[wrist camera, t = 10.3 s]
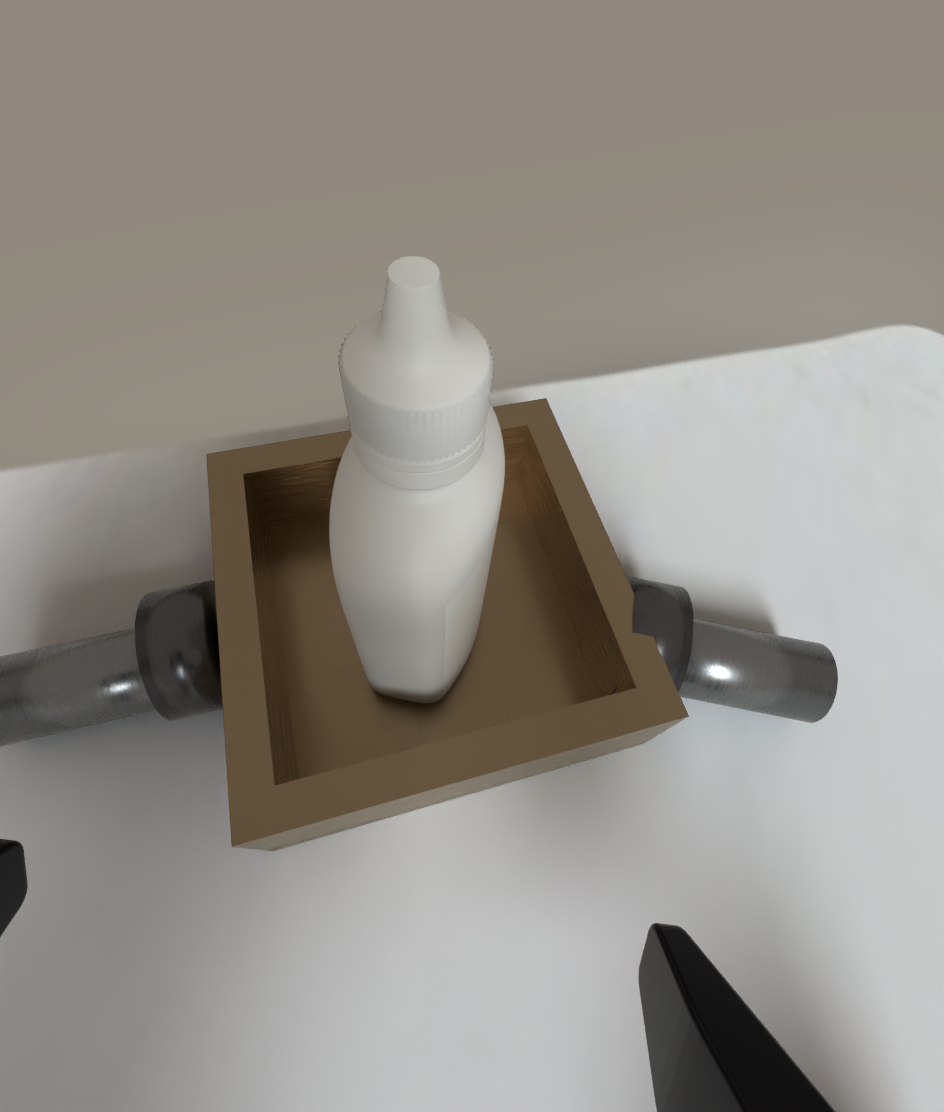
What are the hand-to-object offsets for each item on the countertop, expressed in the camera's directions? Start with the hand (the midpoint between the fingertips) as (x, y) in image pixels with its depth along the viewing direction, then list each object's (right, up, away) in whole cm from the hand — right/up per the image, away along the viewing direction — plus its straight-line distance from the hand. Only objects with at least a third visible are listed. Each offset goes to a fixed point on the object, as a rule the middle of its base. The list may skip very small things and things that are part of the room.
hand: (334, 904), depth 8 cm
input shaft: (-8, +1, +9) cm, 12 cm away
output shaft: (+9, +1, +10) cm, 14 cm away
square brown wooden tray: (0, +3, +11) cm, 11 cm away
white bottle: (0, +3, +10) cm, 11 cm away
